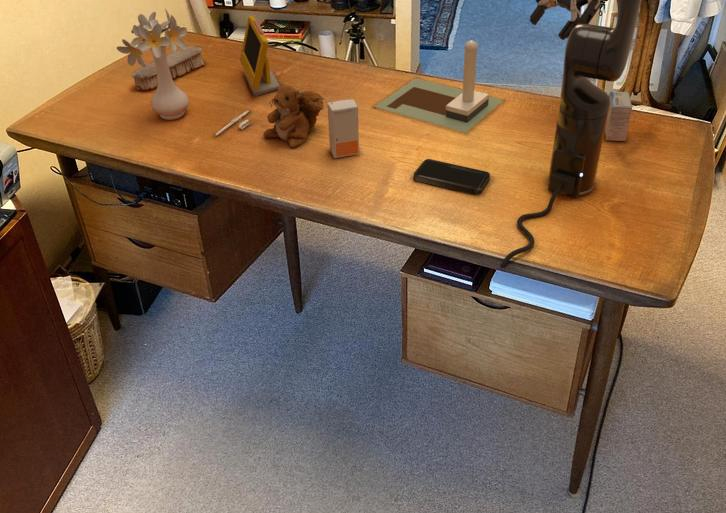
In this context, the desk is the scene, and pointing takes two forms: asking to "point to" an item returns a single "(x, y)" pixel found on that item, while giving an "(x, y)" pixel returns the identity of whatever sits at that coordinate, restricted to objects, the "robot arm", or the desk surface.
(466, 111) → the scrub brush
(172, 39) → the flower vase
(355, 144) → the cosmetic box
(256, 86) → the yellow framed monitor
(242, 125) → the pen with cap
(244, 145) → the desk surface
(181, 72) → the shoe brush
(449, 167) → the phone
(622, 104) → the medicine box
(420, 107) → the desk mat
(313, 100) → the stuffed squirrel
